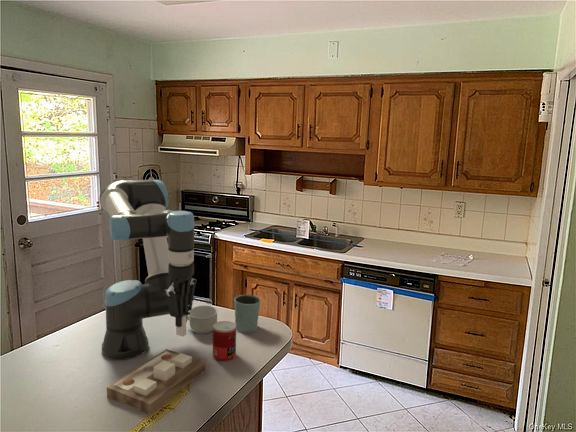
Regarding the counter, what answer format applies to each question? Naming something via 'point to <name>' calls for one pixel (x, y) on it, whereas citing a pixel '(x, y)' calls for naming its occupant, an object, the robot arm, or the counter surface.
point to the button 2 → (182, 360)
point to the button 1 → (145, 386)
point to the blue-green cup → (246, 313)
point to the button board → (164, 390)
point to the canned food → (224, 340)
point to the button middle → (164, 370)
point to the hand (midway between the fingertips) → (181, 334)
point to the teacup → (202, 318)
